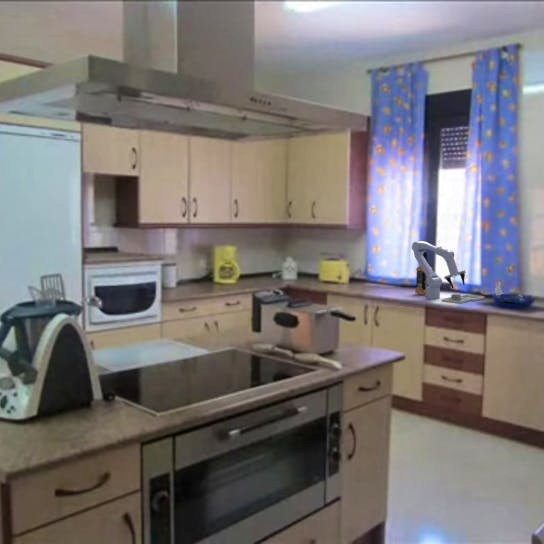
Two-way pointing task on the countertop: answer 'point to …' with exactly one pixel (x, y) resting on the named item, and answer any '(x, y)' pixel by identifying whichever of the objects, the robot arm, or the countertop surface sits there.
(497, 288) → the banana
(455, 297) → the stone
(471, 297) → the tray
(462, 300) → the tray
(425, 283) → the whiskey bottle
